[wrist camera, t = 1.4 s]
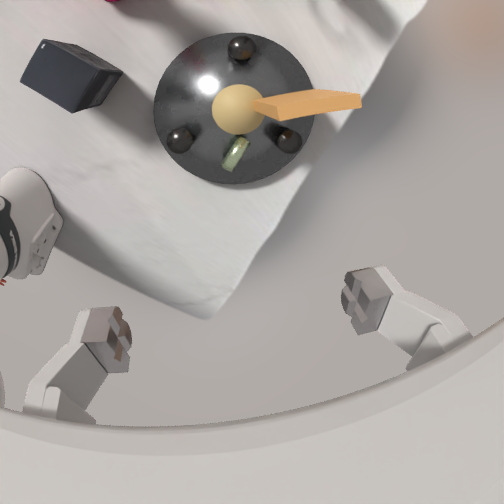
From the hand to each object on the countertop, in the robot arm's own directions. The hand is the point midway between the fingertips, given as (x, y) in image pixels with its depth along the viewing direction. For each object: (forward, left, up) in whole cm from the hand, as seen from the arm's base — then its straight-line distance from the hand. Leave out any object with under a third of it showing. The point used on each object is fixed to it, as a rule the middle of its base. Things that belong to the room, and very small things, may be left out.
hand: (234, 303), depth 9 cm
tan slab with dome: (+8, -4, -32) cm, 33 cm away
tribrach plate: (+6, -2, -34) cm, 35 cm away
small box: (+1, +21, -35) cm, 41 cm away
